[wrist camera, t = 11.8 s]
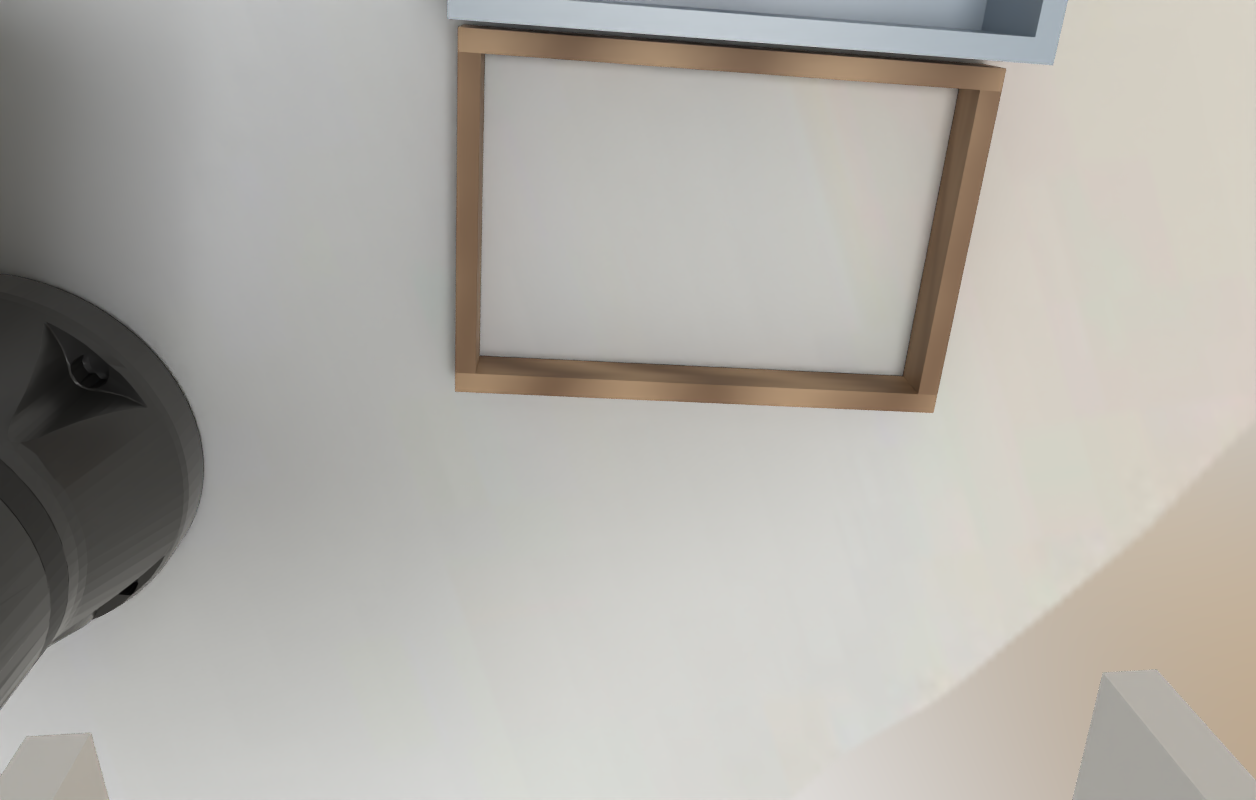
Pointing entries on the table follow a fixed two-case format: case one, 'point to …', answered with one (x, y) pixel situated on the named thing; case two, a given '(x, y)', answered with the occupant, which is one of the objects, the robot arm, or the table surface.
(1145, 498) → the table surface
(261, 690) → the table surface
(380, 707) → the table surface
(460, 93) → the walnut frame
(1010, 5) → the grey bin
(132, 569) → the robot arm
